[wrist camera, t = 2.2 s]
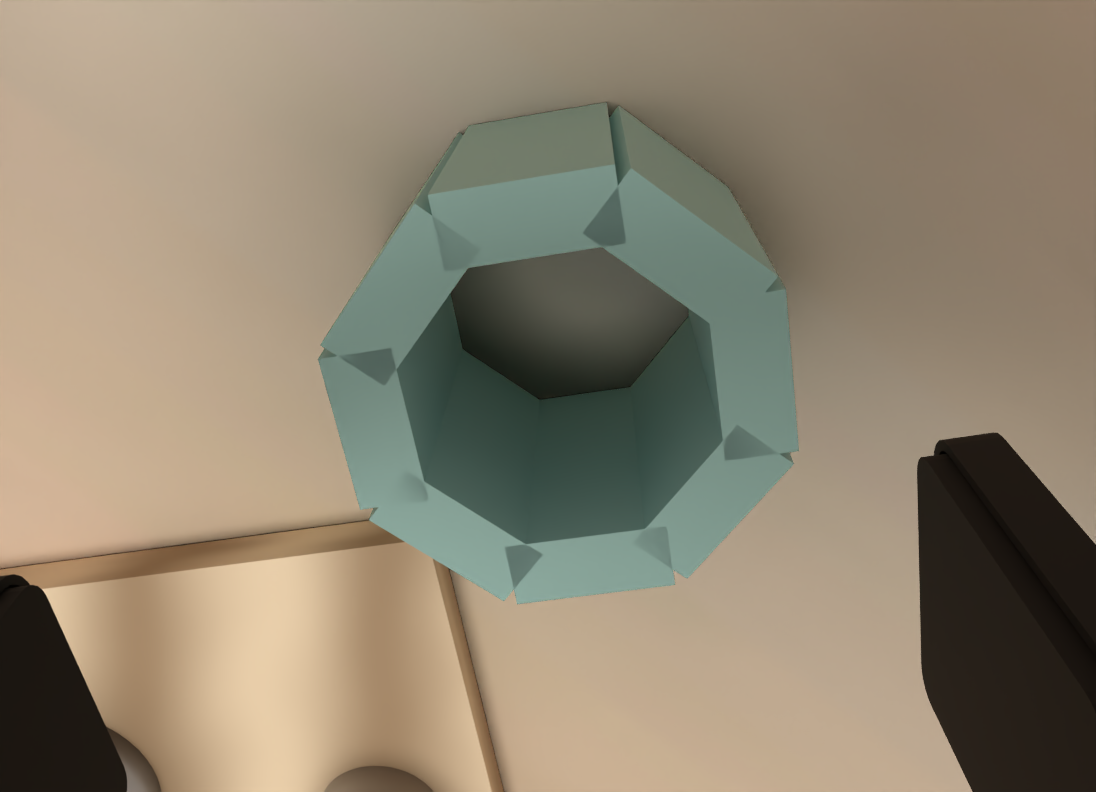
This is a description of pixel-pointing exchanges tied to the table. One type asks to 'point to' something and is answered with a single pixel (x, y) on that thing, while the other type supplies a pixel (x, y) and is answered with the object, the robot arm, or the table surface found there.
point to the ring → (577, 420)
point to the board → (278, 664)
